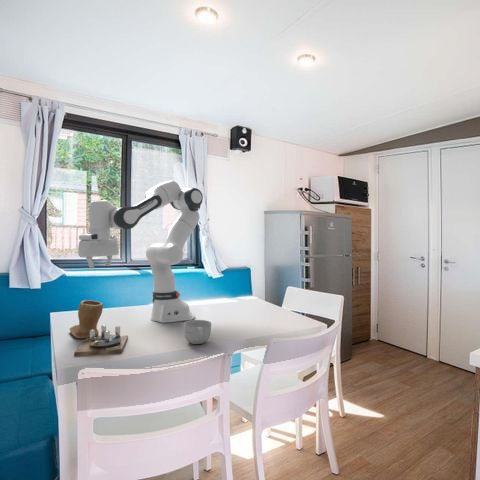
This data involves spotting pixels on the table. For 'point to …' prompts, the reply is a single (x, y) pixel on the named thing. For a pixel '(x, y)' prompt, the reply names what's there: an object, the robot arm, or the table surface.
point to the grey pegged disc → (105, 338)
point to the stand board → (88, 350)
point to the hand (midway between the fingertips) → (99, 266)
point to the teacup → (197, 331)
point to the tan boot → (87, 318)
